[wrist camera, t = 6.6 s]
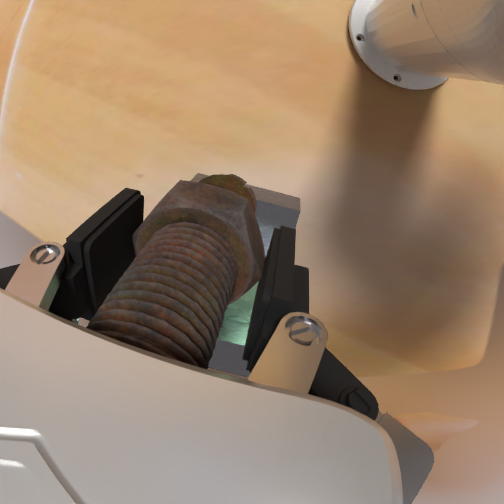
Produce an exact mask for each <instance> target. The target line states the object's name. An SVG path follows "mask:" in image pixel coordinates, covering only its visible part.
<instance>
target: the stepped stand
mask: <svg viewBox="0 0 504 504" xmlns="http://www.w3.org/2000/svg"><path fill="white" fill-rule="evenodd" d="M206 177H209V176H208V175H203V174H199V173H198V174H197V175H196V176H195V177H194V178H193V179H192V180H191V181H192V182H199V181H200V180H202V179H203V178H206ZM245 186H247V187H248V188H250V187H251V188H252V190H253V192H254V194H255V197H256V202H257V208H256V212H255V216H256V219H257V222H258V225H259V229H260V232H261V236H262V240H263V245H264V250H265V256H266V255H267V252H268V248H269V245H270V241H271V238H272V234H273V231H274V228H278V229H280V227H281V225H282V226H285V227H289V228H293V229H295V226H296V223H297V220H298V217H299V214H300V198H297V197H293V196H289V195H286V194H282V193H278V192H274V191H270V190H266V189H263V188H259V187H255V186H250V185H246V184H245V185H244V186H243V187H245ZM258 282H259V281H258ZM258 282H257V283H256V284H255V285H254V286H253V287H252V288H251V289H250V290H249V291H248V292H246V293H245V294H244V295H243V296H241V297H240V298H239V299H238V300H236V301H234V302H233V303H231V304H229V305H228V306H227V309H226V311H225V313H224V319H223V322H222V326H221V329H220V331H219V336H218V338H217V340H216V346H215V349H214V350H213V355H212V358H211V359H210V361H209V365H208V368H212V369H216V370H220V371H224V372H228V373H233V374H237V375H241V376H245V377H249V375H250V374H251V372H250V371H248V370H246V368H247V363H248V361H246V360H242V357H243V352H244V348H245V343H246V338H247V333H248V328H249V324H250V319H251V314H252V309H253V304H254V299H255V294H256V290H257V286H258Z"/></svg>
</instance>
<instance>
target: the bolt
mask: <svg viewBox="0 0 504 504" xmlns="http://www.w3.org/2000/svg"><path fill="white" fill-rule="evenodd" d="M246 183H247V182H245V181H244V180H243V179H242V178H240V177H238V176H236V175H234V174H230V175H211V176H209V177H206V178H203V179H202V180H200V181H199V182H192V181H182V180H180V181H179V182H178V183H177V184H176V185H175V186H174V187H173V188H172V189H171V190H170V191H169V192H168V193H167V194H166V195H165V197H164V198H163V199H162V200H161V201H160V202H159V203H158V204H157V206H156V207H155V208H154V209H153V210H152V212H151V213H150V214H149V215H148V216H147V218H146V219H145V220H144V221H143V222H142V224H141V225H140V226H139V227H138V229H137V230H136V231H135V233H134V234H133V235H132V241H133V245H134V250H135V254H136V258H135V259H134V261H133V262H132V263H131V265H130V266H129V267H128V269H127V270H126V271H125V272H124V274H123V276H122V277H121V278H120V279H119V280H118V282H117V283H116V285H115V286H114V287H113V289H112V291H111V292H110V293H109V294H108V295H107V298H106V299H105V300H104V302H103V304H102V306H100V307H99V309H98V311H97V313H96V314H95V316H94V317H93V318H92V319H91V320H90V322H89V324H88V326H87V327H86V328H87V329H90V330H92V331H95V332H97V333H100V334H102V335H105V336H108V337H110V338H113V339H115V340H118V341H121V342H124V343H126V344H129V345H132V346H135V347H137V348H140V349H143V350H146V351H149V352H152V353H155V354H158V355H161V356H164V357H167V358H170V359H174V360H177V361H180V362H183V363H187V364H190V365H193V366H197V367H200V368H204V369H207V368H208V365H209V361H210V359H211V358H212V355H213V350H214V349H215V346H216V340H217V338H218V336H219V331H220V329H221V326H222V322H223V319H224V313H225V311H226V309H227V306H228V305H229V304H231V303H233V302H234V301H236V300H238V299H239V298H240V297H241V296H243V295H244V294H245V293H246V292H248V291H249V290H250V289H251V288H252V287H253V286H254V285H255V284H256V283H257V282H258V281H259V280H260V279H261V278H262V274H263V268H264V263H265V258H266V256H265V250H264V245H263V240H262V236H261V232H260V229H259V225H258V222H257V219H256V216H255V212H256V208H257V202H256V197H255V194H254V192H253V190H252V188H251V187H250V188H248V187H247V186H245V187H243V186H244V185H245V184H246Z"/></svg>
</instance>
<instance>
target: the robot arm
mask: <svg viewBox="0 0 504 504" xmlns="http://www.w3.org/2000/svg"><path fill="white" fill-rule="evenodd" d="M348 27H349V33H350V38H351V40H352V43H353V46H354V48H355V50H356V52H357V53H358V55H359V57H360V58H361V59H362V61H363V62H364V63H365V64H366V66H367V67H368V68H369V69H370V70H372V71H373V72H374V73H375V74H376V75H377V76H379V77H380V78H382V79H383V80H385V81H387V82H389V83H391V84H393V85H395V86H399V87H402V88H406V89H413V90H424V89H429V88H433V87H435V86H438V85H440V84H442V83H443V82H444V81H446V80H447V79H448V78H458V79H467V80H475V81H483V82H489V83H496V84H503V85H504V0H355V1H354V3H353V5H352V7H351V10H350V14H349V25H348ZM357 37H360V38H361V40H360V41H358V40H357ZM394 76H396V77H397V80H394ZM143 212H144V196H143V195H141V193H140V191H138V190H134V189H129V188H125V189H124V190H122V191H121V192H120V193H119V194H117V195H116V196H115V197H114V198H112V199H111V200H110V201H109V202H108V203H106V204H105V205H104V206H103V207H101V208H100V209H99V210H98V211H97V212H96V213H94V214H93V215H92V216H91V217H90V218H89V219H87V220H86V221H85V222H84V223H83V224H82V225H81V226H79V227H78V228H77V229H76V230H75V231H74V232H73V233H72V234H71V235H69V236H68V237H67V238H66V241H67V242H66V243H65V244H64V245H63V246H62V245H61V244H59V243H56V242H43V243H40V244H37V245H35V246H34V247H33V248H31V249H30V250H29V251H28V253H27V255H26V256H25V257H24V259H23V261H22V262H21V264H18V265H13V266H9V267H5V268H2V269H0V504H411V503H412V502H413V500H414V499H415V497H416V495H417V494H418V492H419V490H420V489H421V487H422V485H423V483H424V482H425V480H426V478H427V476H428V474H429V472H430V471H431V469H432V466H433V463H434V456H433V455H434V454H433V452H432V450H431V448H430V447H429V446H428V445H427V444H426V443H425V442H424V441H423V440H421V439H420V438H419V437H417V436H416V435H415V434H414V433H412V432H411V431H410V430H408V429H407V428H406V427H405V426H403V425H402V424H401V423H400V422H398V421H397V420H396V419H395V418H393V417H392V416H391V415H390V414H388V413H385V414H384V415H383V414H382V413H381V412H379V408H378V403H377V400H376V398H375V397H374V396H373V394H372V393H371V392H370V391H369V390H368V389H367V388H366V387H365V386H364V385H363V384H362V383H361V382H360V381H359V380H358V379H357V378H356V377H355V376H354V375H353V374H352V373H351V372H350V371H349V370H348V369H347V368H346V367H345V366H344V365H343V364H342V363H341V362H340V361H339V360H338V359H337V358H336V357H335V356H334V355H333V354H332V353H330V352H329V351H328V350H327V349H326V348H325V346H326V343H327V340H328V333H327V329H326V328H325V326H324V325H323V323H322V322H321V321H320V320H318V319H317V318H316V317H314V316H312V315H310V314H309V270H308V268H306V267H302V266H298V265H294V261H295V237H296V229H293V228H289V227H285V226H282V225H281V227H280V229H278V228H274V231H273V234H272V238H271V241H270V245H269V248H268V252H267V255H266V258H265V263H264V268H263V274H262V278H261V279H260V280H259V282H258V286H257V290H256V294H255V299H254V304H253V309H252V314H251V319H250V324H249V328H248V333H247V338H246V343H245V348H244V352H243V357H242V360H246V361H248V363H247V368H246V370H248V371H250V372H251V374H250V375H249V377H248V379H247V380H246V379H242V378H238V377H234V376H230V375H226V374H222V373H218V372H215V371H211V370H207V369H204V368H200V367H197V366H193V365H190V364H187V363H183V362H180V361H177V360H174V359H170V358H167V357H164V356H161V355H158V354H155V353H152V352H149V351H146V350H143V349H140V348H137V347H135V346H132V345H129V344H126V343H124V342H121V341H118V340H115V339H113V338H110V337H108V336H105V335H102V334H100V333H97V332H95V331H92V330H90V329H87V328H85V327H83V326H80V325H78V321H79V318H80V317H82V318H84V319H87V320H89V321H90V320H91V319H92V318H93V317H94V316H95V314H96V313H97V311H98V309H99V307H100V306H102V304H103V302H104V300H105V299H106V298H107V295H108V294H109V293H110V292H111V291H112V289H113V287H114V286H115V285H116V283H117V282H118V280H119V279H120V278H121V277H122V276H123V274H124V272H125V271H126V270H127V269H128V267H129V266H130V265H131V263H132V262H133V261H134V259H135V258H136V254H135V250H134V245H133V241H132V235H133V234H134V233H135V231H136V230H137V229H138V227H139V226H140V225H141V224H142V222H143Z"/></svg>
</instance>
